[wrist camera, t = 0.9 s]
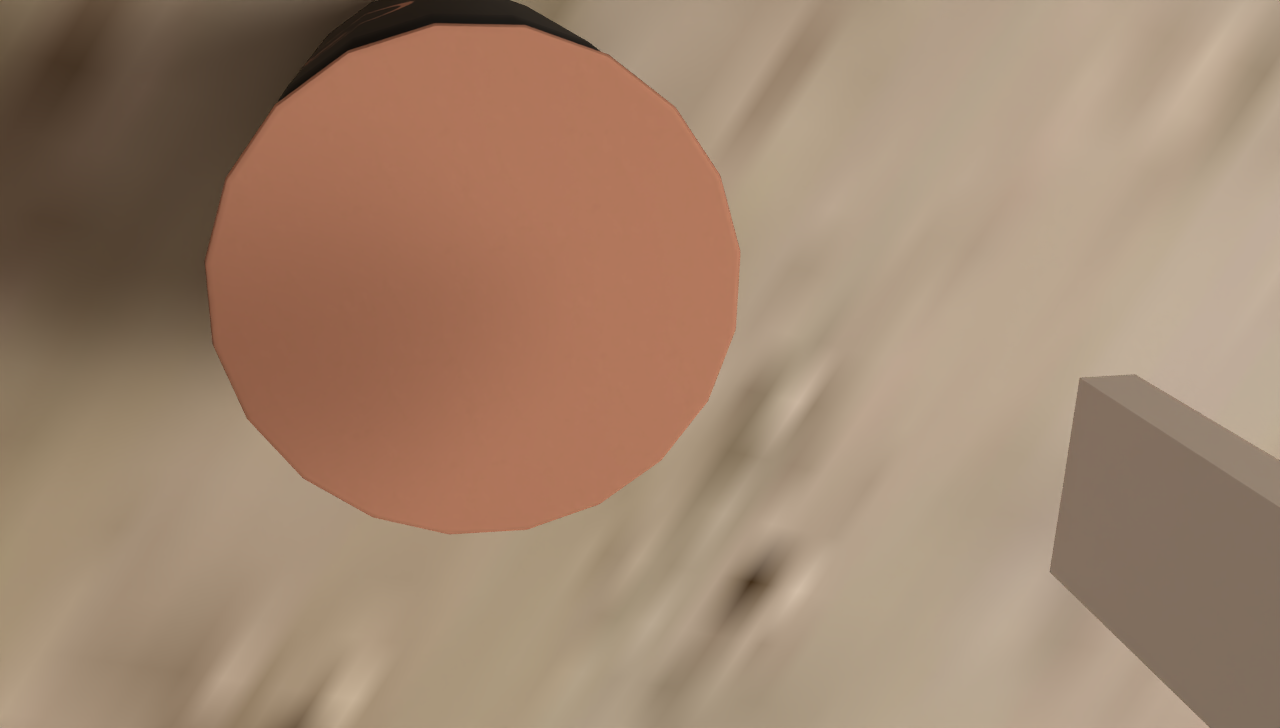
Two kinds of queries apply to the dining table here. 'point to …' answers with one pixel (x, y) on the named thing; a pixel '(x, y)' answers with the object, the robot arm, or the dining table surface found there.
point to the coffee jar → (471, 269)
